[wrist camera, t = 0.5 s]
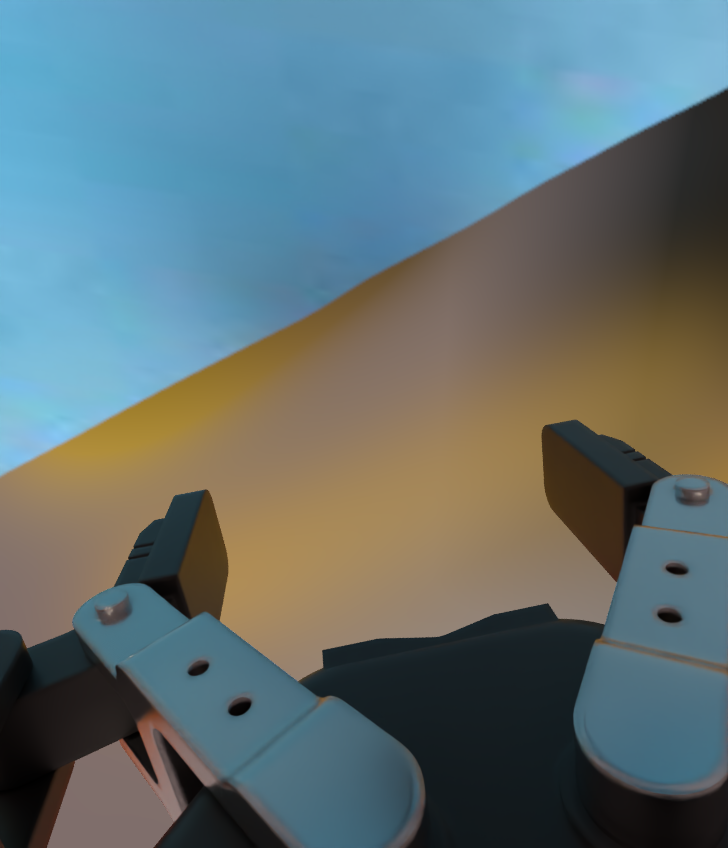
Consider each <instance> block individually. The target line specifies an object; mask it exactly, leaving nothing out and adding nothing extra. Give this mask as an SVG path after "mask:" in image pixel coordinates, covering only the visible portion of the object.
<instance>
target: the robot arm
mask: <svg viewBox="0 0 728 848" xmlns="http://www.w3.org/2000/svg"><path fill="white" fill-rule="evenodd" d="M542 452H543V470H544V486H545V493H546V496H547V500H548V502H549V505H550V507H551V508H552V510H553V511H554V512H555V513H556V515H557V516H558V517H559V518H560V519H561V520H562V521H563V522H564V524H565V525H566V526H567V527H568V528H569V529H570V530H571V531H572V533H573V534H574V535H575V536H576V537H577V538H578V539H579V540H580V542H581V543H582V544H583V545H584V546H585V547H586V548H587V549H588V551H589V552H590V553H591V554H592V555H593V556H594V557H595V558H596V560H597V561H598V562H599V563H600V564H601V565H602V566H603V567H604V568H605V570H606V571H607V572H608V573H609V574H610V575H611V576H612V578H613V579H614V580H615V581H616V582H617V585H616V588H615V591H614V595H613V598H612V602H611V605H610V609H609V612H608V616H607V619H606V623H605V625H604V624H600V623H595V622H590V621H584V620H574V619H558V618H557V616H556V615H555V613H554V612H553V610H552V609H551V607H550V606H549V604H548V603H547V604H543V605H538V606H533V607H528V608H523V609H518V610H514V611H509V612H504V613H499V614H494V615H492V616H490V617H487V618H484V619H482V620H480V621H477V622H475V623H473V624H470V625H468V626H466V627H463V628H461V629H458V630H456V631H454V632H451V633H449V634H446V635H444V636H440V637H426V638H385V639H374V640H370V641H365V642H360V643H356V644H350V645H346V646H341V647H336V648H331V649H326V650H323V651H322V652H323V668H322V669H320V670H318V671H315V672H313V673H312V674H310V675H308V676H306V677H304V678H302V679H301V680H299V681H296V680H295V679H294V678H293V677H291V676H290V675H288V674H287V673H286V672H285V671H283V670H282V669H281V668H280V667H278V666H277V665H276V664H274V663H273V662H272V661H270V660H269V659H268V658H267V657H265V656H264V655H263V654H261V653H260V652H259V651H257V650H256V649H255V648H253V647H252V646H251V645H250V644H248V643H247V642H246V641H244V640H243V639H242V638H241V637H239V636H238V635H237V634H235V633H234V632H232V631H231V630H230V629H229V628H228V627H226V626H225V625H223V624H222V623H221V622H220V616H221V610H222V605H223V599H224V593H225V588H226V582H227V577H228V558H227V552H226V548H225V544H224V540H223V537H222V533H221V529H220V526H219V522H218V518H217V515H216V512H215V508H214V504H213V501H212V497H211V495H210V493H209V491H208V490H201V491H196V492H191V493H185V494H180V495H175V496H174V498H173V500H172V502H171V505H170V507H169V509H168V512H167V514H166V516H165V518H164V519H158V520H154V521H153V522H152V523H151V524H150V525H149V526H148V527H147V528H146V529H144V530H143V531H142V532H141V533H140V534H139V536H138V539H137V540H136V542H135V545H134V549H132V551H131V553H130V555H129V557H128V559H129V560H127V561H126V563H125V565H124V567H123V569H122V571H121V573H120V575H119V577H118V579H117V581H116V584H115V586H114V587H113V588H110V589H107V590H105V591H103V592H101V593H99V594H97V595H96V596H94V597H92V598H91V599H89V600H88V601H87V602H86V603H84V604H83V605H82V606H81V607H80V609H78V611H77V612H76V613H75V615H74V617H73V622H72V623H73V627H74V630H72V631H70V632H68V633H65V634H63V635H61V636H58V637H56V638H53V639H50V640H48V641H45V642H43V643H40V644H37V645H35V646H32V647H30V648H26V645H25V643H24V641H23V639H22V636H21V635H20V634H19V633H18V632H16V631H13V630H0V848H47V845H48V842H49V839H50V836H51V833H52V830H53V827H54V824H55V821H56V818H57V815H58V812H59V809H60V806H61V803H62V800H63V797H64V794H65V791H66V789H67V785H68V783H69V779H70V777H71V774H72V771H73V767H74V763H75V760H77V759H80V758H81V757H84V756H86V755H88V754H90V753H92V752H94V751H97V750H99V749H101V748H103V747H105V746H107V745H109V744H112V743H114V742H116V741H118V740H119V741H120V743H121V746H122V747H123V749H124V750H125V752H126V753H127V754H128V756H129V757H130V759H131V760H132V761H133V763H134V764H135V765H136V767H137V768H138V770H139V771H140V772H141V774H142V775H143V777H144V778H145V779H146V781H147V782H148V783H149V785H150V786H151V788H152V789H153V791H154V792H155V793H156V795H157V796H158V798H159V799H160V800H161V802H162V803H163V805H164V806H165V808H166V809H167V811H168V813H169V814H170V816H171V818H172V820H173V822H174V823H173V824H172V826H171V827H170V828H169V829H168V831H167V832H166V833H165V834H164V836H163V837H162V838H161V839H160V840H159V842H158V843H157V844H156V845H155V847H154V848H728V485H727V484H726V483H724V482H722V481H720V480H717V479H714V478H710V477H706V476H700V475H671V474H670V473H669V472H667V471H666V470H664V469H663V468H661V467H660V466H658V465H657V464H656V463H654V462H653V461H651V460H650V459H646V457H645V456H644V455H642V454H641V453H639V452H635V449H633V448H632V447H630V446H629V445H627V444H626V443H624V442H623V441H621V440H618V439H615V438H612V437H608V436H605V435H597V434H596V433H595V432H593V431H592V430H590V429H589V428H588V427H586V426H585V425H583V424H582V423H580V422H579V421H578V420H571V421H566V422H560V423H555V424H550V425H545V426H544V427H543V430H542Z"/></svg>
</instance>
